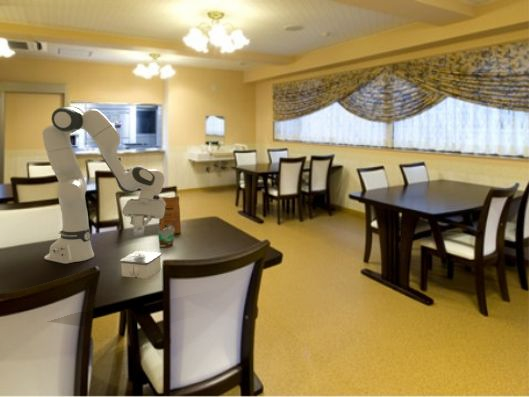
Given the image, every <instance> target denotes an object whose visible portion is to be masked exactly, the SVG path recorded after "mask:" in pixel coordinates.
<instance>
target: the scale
mask: <svg viewBox="0 0 529 397" xmlns="http://www.w3.org/2000/svg"><path fill="white" fill-rule="evenodd" d="M161 260H162V259H161V256H160V257H158V258H157V259H155V260H154V261H152V262H151V263H149V264H148V265H143V264H133V263H123V262H120V263H121V264H120V266H121V277H127V278H135V277H137V278H136V279H144V278H145V280H146V279H150V277H152V276H153V275H155V274H156V273H158V272H159V271H160V270H161V269H162V266H161V265H162V261H161Z"/></svg>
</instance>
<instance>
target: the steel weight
mask: <svg viewBox="0 0 529 397" xmlns="http://www.w3.org/2000/svg"><path fill="white" fill-rule="evenodd" d="M143 221H145V218H144V215H133V236H135V237H141V236H144V235H146V227H145V226H144V225H143Z"/></svg>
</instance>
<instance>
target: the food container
mask: <svg viewBox="0 0 529 397" xmlns="http://www.w3.org/2000/svg"><path fill="white" fill-rule="evenodd" d="M174 231H175V229H174V227H173V226H172V225H167V227H166V228H163V229H162V230H160V229H158V230H157V235H158V245H159V246H158V247H159V248H160V249H167V248H171V247H173V246H174V234H173V232H174Z"/></svg>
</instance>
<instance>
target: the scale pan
mask: <svg viewBox="0 0 529 397" xmlns="http://www.w3.org/2000/svg"><path fill="white" fill-rule="evenodd" d="M161 256H163V253H162V252H151V251H141V250H135V251H133V252H132V253H130V254H128V255H126V256H125V257H123V258H120V260H119V263H122V262H123V263H133V264H143V265H148V264H149V263H151V262H152V261H154V260H155V259H157V258H158V257H160V258H161Z"/></svg>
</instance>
